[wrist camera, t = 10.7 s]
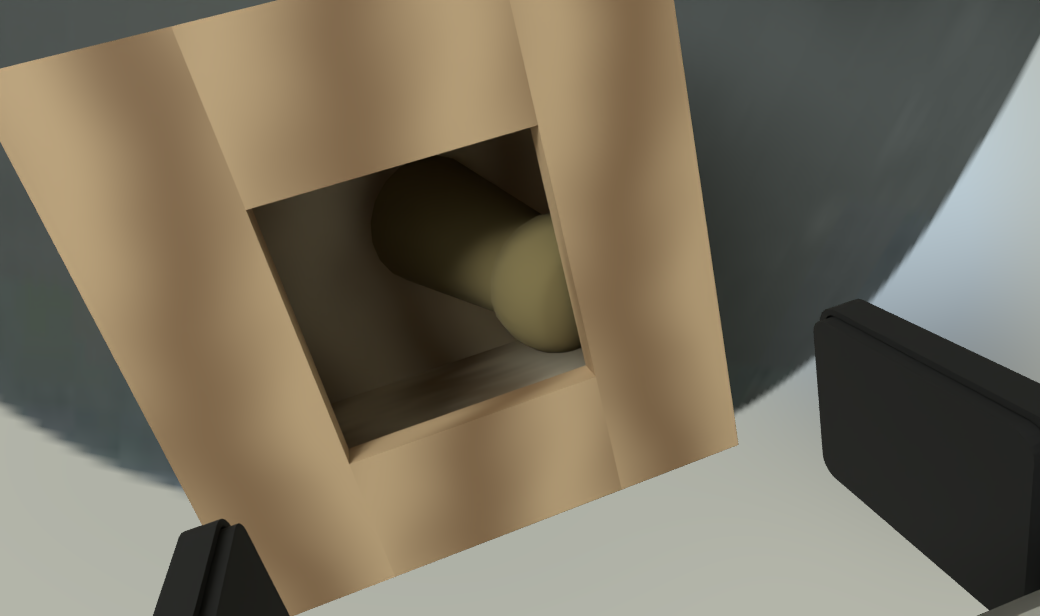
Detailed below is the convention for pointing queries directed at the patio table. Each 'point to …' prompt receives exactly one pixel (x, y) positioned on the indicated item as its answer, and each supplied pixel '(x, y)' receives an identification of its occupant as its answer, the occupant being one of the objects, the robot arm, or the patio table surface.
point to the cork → (476, 249)
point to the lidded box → (382, 265)
